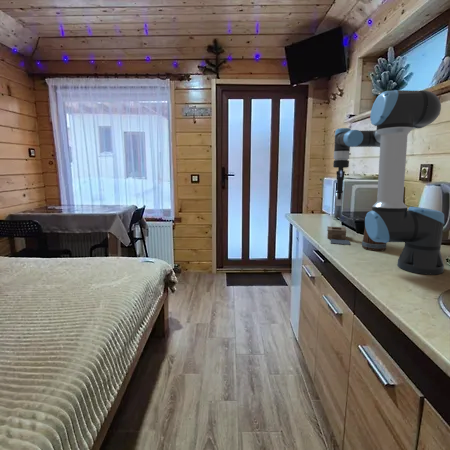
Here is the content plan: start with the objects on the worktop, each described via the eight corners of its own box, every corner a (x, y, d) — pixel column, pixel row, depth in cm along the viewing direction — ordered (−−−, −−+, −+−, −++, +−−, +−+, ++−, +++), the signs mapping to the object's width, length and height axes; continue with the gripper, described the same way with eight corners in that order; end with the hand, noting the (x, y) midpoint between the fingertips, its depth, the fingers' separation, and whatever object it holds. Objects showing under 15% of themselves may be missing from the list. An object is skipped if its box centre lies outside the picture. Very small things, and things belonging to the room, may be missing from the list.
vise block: (345, 240, 168) (346, 230, 167) (326, 238, 170) (327, 229, 169) (344, 236, 176) (345, 227, 175) (326, 235, 179) (327, 226, 178)
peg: (341, 218, 168) (343, 191, 166) (334, 217, 170) (335, 191, 167) (341, 217, 172) (342, 190, 169) (334, 216, 173) (335, 190, 170)
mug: (388, 251, 146) (392, 219, 143) (364, 250, 148) (366, 218, 145) (379, 243, 161) (382, 213, 158) (357, 242, 163) (359, 213, 160)
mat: (350, 244, 158) (350, 244, 158) (330, 243, 160) (330, 242, 160) (348, 240, 166) (348, 239, 166) (330, 239, 169) (330, 238, 169)
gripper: (350, 159, 156) (347, 207, 161) (348, 159, 172) (345, 203, 176) (334, 159, 158) (331, 206, 163) (333, 160, 174) (330, 203, 178)
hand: (338, 205), depth 169 cm, fingers closed on peg, 4 cm apart
